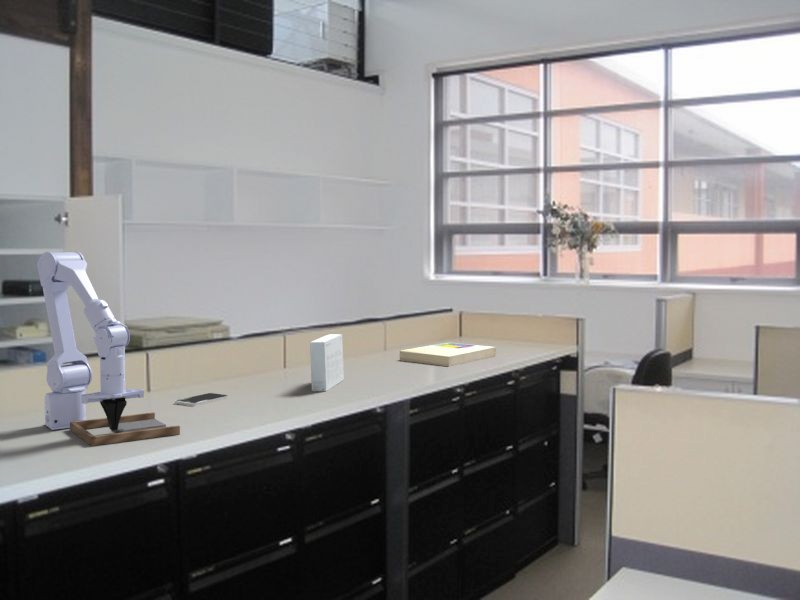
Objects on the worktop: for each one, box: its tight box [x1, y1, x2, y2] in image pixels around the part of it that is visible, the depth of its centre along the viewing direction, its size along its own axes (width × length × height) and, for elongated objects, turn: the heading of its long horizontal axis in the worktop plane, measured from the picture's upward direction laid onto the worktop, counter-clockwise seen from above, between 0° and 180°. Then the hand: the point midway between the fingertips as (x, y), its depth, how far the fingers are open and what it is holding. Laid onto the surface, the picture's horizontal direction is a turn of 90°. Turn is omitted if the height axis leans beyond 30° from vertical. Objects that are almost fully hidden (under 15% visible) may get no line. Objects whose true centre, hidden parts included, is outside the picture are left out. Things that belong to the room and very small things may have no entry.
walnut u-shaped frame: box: [69, 411, 181, 447], centre depth 203 cm, size 21×19×2 cm
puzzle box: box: [399, 342, 497, 367], centre depth 335 cm, size 36×5×24 cm
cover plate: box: [116, 418, 167, 433], centre depth 206 cm, size 10×8×2 cm
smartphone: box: [174, 392, 229, 407], centre depth 243 cm, size 8×1×15 cm
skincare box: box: [309, 333, 345, 392], centre depth 270 cm, size 21×5×16 cm, turn 168°
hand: (113, 429), depth 202 cm, fingers closed
